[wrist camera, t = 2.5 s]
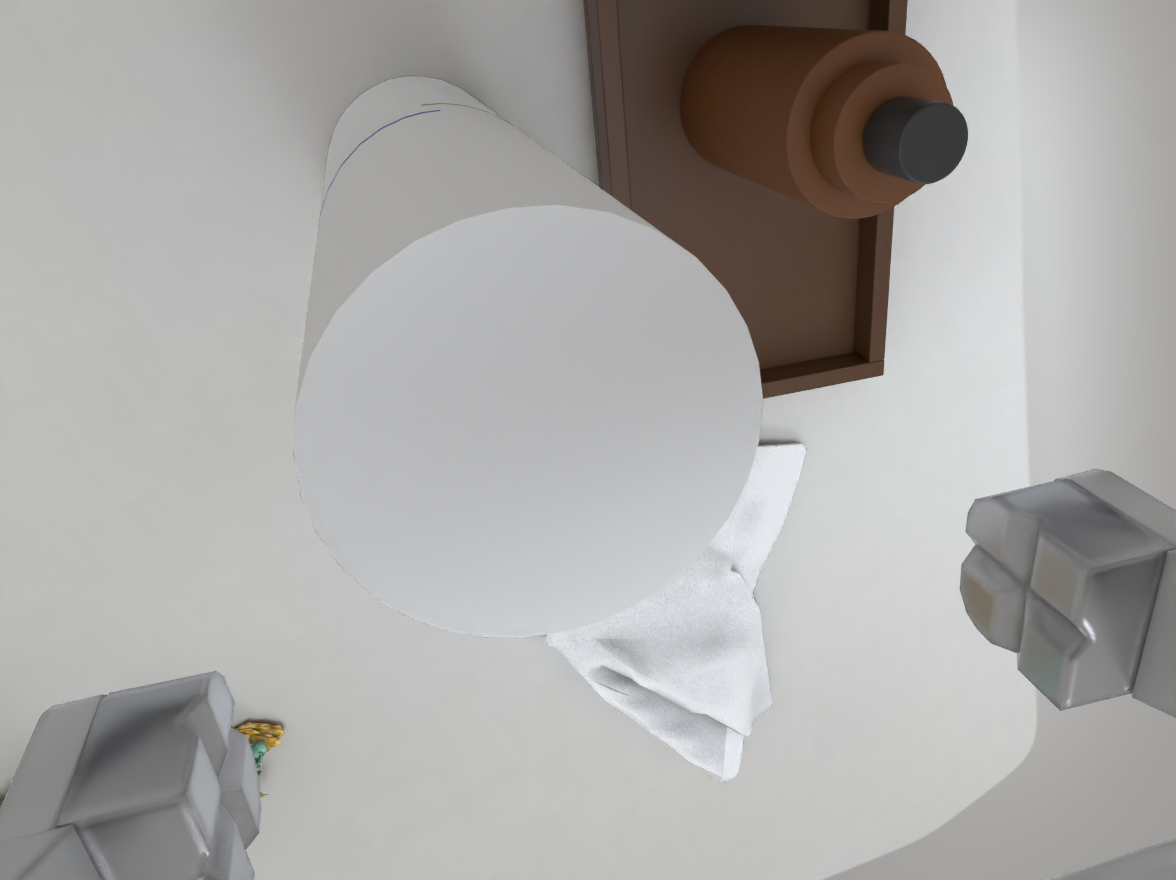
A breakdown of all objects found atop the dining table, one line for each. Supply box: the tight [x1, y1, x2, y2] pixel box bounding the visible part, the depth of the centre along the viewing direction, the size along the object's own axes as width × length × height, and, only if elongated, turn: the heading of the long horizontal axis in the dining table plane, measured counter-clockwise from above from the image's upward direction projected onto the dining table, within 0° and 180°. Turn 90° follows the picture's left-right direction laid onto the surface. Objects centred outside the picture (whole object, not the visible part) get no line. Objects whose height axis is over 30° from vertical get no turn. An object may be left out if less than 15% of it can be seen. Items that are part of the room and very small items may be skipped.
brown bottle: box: [680, 25, 968, 219], centre depth 31 cm, size 6×6×14 cm
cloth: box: [546, 443, 807, 786], centre depth 46 cm, size 26×14×2 cm, turn 177°
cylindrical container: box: [293, 76, 763, 638], centre depth 24 cm, size 7×7×25 cm
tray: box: [584, 0, 907, 399], centre depth 36 cm, size 25×13×2 cm, turn 5°
